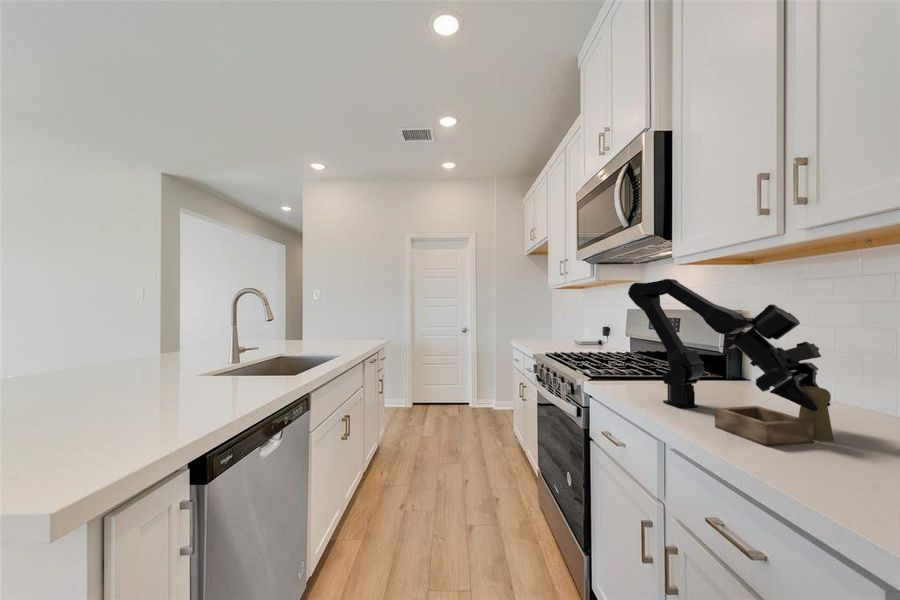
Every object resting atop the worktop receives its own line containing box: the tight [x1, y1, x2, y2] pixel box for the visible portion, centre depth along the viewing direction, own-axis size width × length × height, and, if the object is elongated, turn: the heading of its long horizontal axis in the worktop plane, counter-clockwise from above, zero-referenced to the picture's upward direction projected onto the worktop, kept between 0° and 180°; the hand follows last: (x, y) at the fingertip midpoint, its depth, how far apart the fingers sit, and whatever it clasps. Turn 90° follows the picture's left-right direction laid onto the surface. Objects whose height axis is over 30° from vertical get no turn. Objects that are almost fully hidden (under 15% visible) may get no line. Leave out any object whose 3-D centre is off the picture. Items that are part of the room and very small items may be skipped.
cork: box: [797, 386, 835, 443], centre depth 82 cm, size 6×6×11 cm
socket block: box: [714, 405, 814, 447], centre depth 83 cm, size 12×12×4 cm
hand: (822, 408), depth 80 cm, fingers open, 7 cm apart
